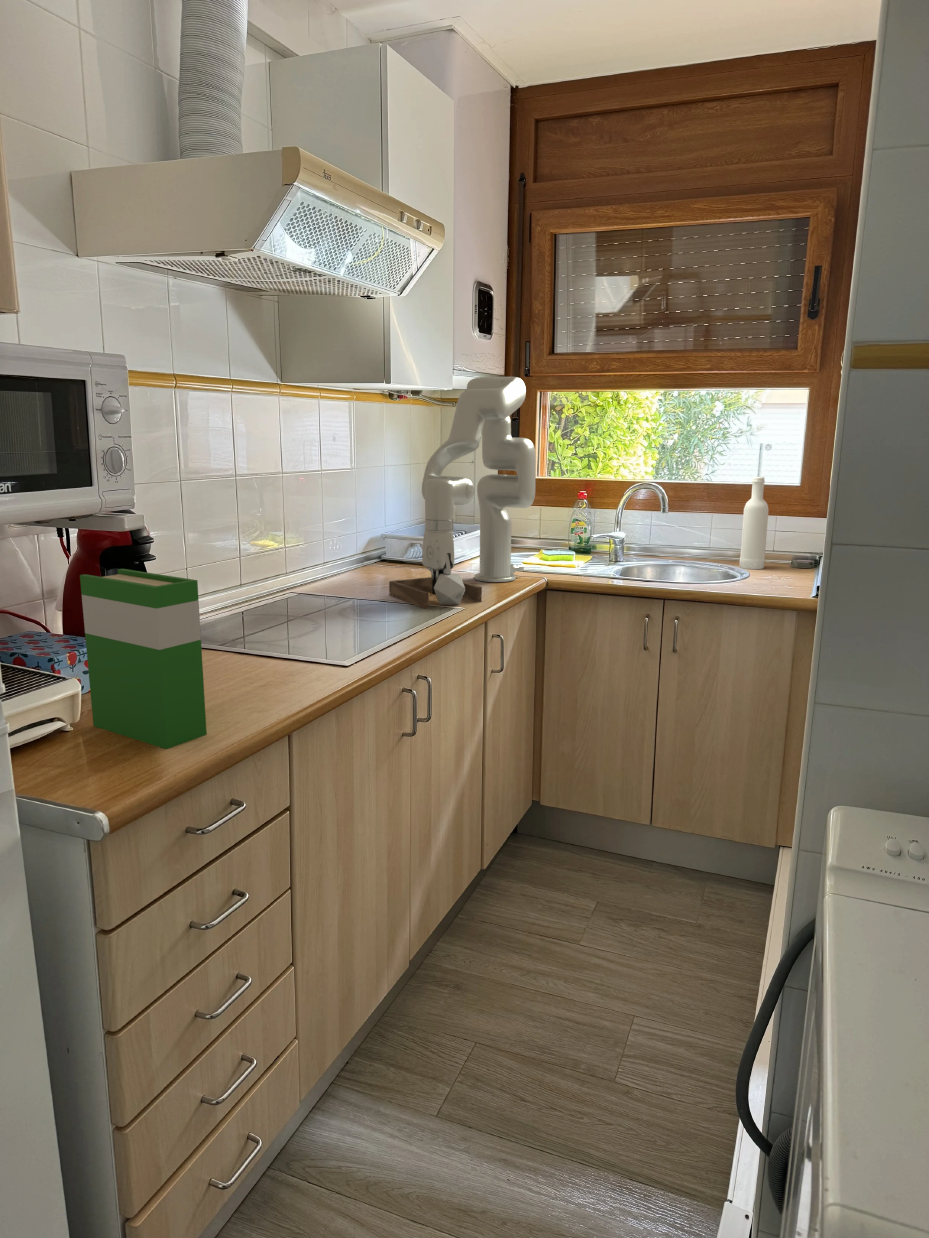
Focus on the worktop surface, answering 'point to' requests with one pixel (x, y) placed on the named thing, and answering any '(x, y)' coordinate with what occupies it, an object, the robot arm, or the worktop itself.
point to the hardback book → (145, 656)
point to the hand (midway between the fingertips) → (438, 594)
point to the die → (449, 589)
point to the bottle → (754, 528)
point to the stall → (426, 591)
